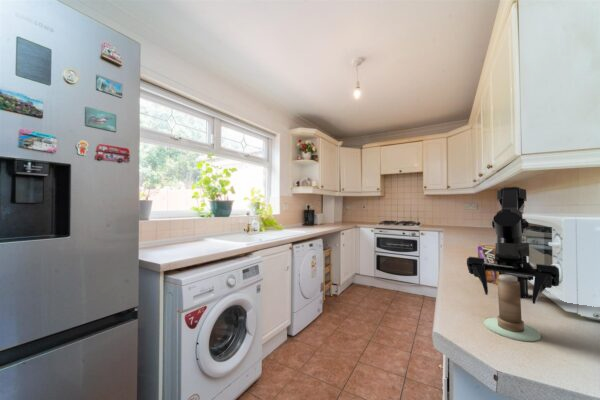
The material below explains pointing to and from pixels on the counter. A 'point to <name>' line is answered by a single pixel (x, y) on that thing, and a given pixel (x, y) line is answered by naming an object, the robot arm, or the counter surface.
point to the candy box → (489, 261)
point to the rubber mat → (527, 335)
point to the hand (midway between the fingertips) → (508, 298)
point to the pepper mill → (509, 304)
